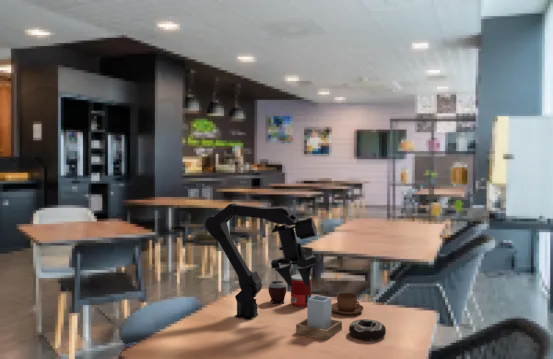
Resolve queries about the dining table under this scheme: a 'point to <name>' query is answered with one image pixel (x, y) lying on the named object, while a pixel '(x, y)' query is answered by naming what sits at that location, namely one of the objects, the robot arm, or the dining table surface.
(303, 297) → the canned food
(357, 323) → the donut
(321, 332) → the shallow brown tray
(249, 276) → the robot arm
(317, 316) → the tall grey bin
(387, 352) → the dining table surface
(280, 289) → the mate gourd
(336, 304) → the cup and saucer
